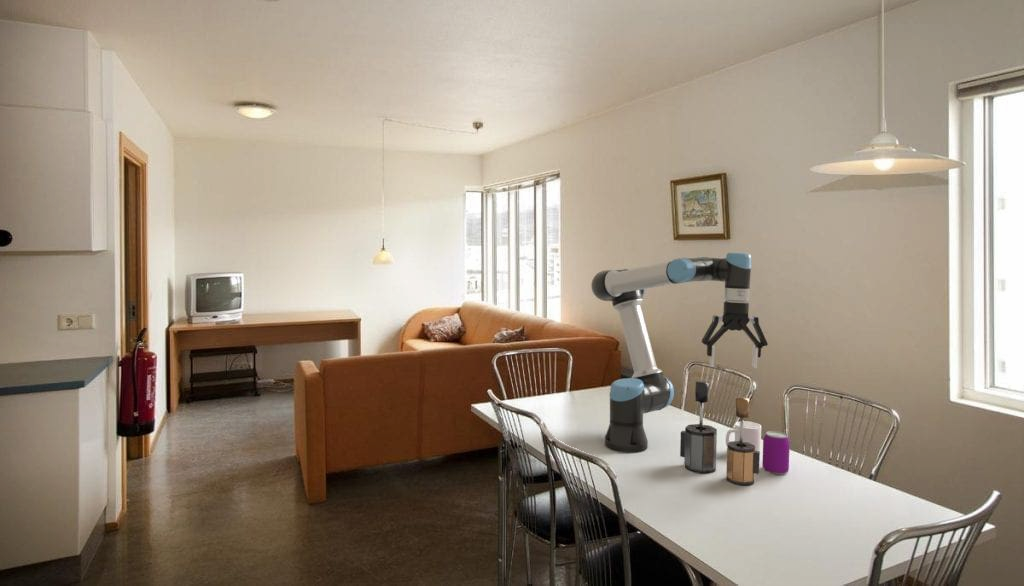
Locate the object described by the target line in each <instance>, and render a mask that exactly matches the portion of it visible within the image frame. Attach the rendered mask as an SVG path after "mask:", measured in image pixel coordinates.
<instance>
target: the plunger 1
mask: <svg viewBox="0 0 1024 586" xmlns="http://www.w3.org/2000/svg"><path fill="white" fill-rule="evenodd" d="M709 383H710V382H709V381H706V380H696V381H695V389H694V391H695V392H694V401H696V402H698V403H699V423H698V424H699V430H703V425H704V423H703V420H704V403H707V402H708V403H709V392H710V390H709V388H710V384H709Z"/></svg>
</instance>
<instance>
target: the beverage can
mask: <svg viewBox="0 0 1024 586" xmlns="http://www.w3.org/2000/svg"><path fill="white" fill-rule="evenodd" d="M790 444H791V443H790V440H789V437H788V434H787V433H785V432H784V431H783V432H782V431H777V430H768V431H766V432H765V435H764V436H763V441H762V461H761V463H762V469H763V470H764V471H765V472H766V473H769V474H772V475H776V476H778V475H779V476H780V475H785V474H787V473H788V472H789V469H790Z"/></svg>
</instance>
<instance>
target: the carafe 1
mask: <svg viewBox="0 0 1024 586" xmlns="http://www.w3.org/2000/svg"><path fill="white" fill-rule="evenodd" d="M717 430H718V428H715V427H714V426H712V425H709V424H708V425H707V424H703V430H699V423H694V424H688V425H686V426H685V429H684V430H682V431H680V449H679V454H680V455H679V456H680V457H682V458H684V463H683V466H684V468H685V470H687V471H688V472H692V473H695V474H702V475H703V474H705V475H708V474H714V473H715V472H716V470H717V443H718V441H717V438H718V437H717V436H718V431H717Z"/></svg>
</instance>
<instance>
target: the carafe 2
mask: <svg viewBox="0 0 1024 586" xmlns="http://www.w3.org/2000/svg"><path fill="white" fill-rule="evenodd" d="M760 455H761V451H760V452H759V451H755V446H754V445H752V444H750V443H748V442H743V447H740V441H735V440H733V441H729V443H728V444H727V445H726V471H725V472H726V474H725V475H726V477H725V478H726V479H725V480H726V481H727V482H729V483H730V484H732V485H735V486H740V487H741V486H744V487H746V486H753V485H754V484H755V475H759V474H760V459H761V458H760Z"/></svg>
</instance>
